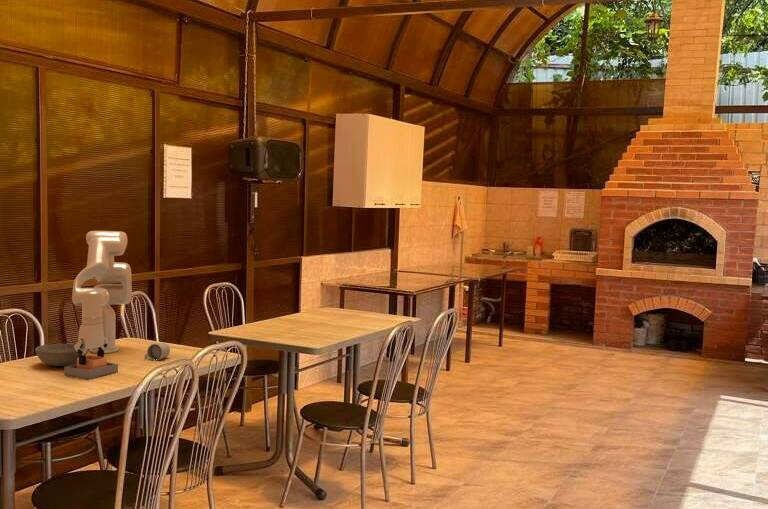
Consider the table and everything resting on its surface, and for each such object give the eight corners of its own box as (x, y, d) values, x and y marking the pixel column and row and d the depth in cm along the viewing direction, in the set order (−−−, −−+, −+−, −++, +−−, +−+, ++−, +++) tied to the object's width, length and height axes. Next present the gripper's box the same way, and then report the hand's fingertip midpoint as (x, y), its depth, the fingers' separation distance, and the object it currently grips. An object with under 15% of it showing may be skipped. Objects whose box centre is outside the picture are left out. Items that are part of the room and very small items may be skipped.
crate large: (64, 375, 301) (64, 366, 301) (93, 368, 315) (93, 360, 315) (89, 379, 296) (89, 370, 296) (117, 372, 310) (118, 363, 310)
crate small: (76, 372, 304) (76, 358, 304) (90, 369, 311) (90, 355, 310) (93, 375, 301) (93, 360, 300) (106, 372, 307) (106, 357, 307)
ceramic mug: (171, 357, 341) (171, 341, 341) (162, 361, 333) (162, 344, 333) (150, 356, 344) (150, 340, 343) (140, 359, 336) (140, 343, 335)
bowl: (26, 364, 319) (26, 346, 318) (74, 358, 334) (75, 340, 334) (48, 373, 304) (48, 353, 304) (97, 366, 320) (97, 347, 319)
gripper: (101, 317, 314) (100, 357, 315) (68, 322, 298) (67, 365, 299) (114, 319, 310) (114, 359, 312) (82, 324, 295) (81, 367, 296)
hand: (91, 362), depth 305 cm, fingers open, 9 cm apart
